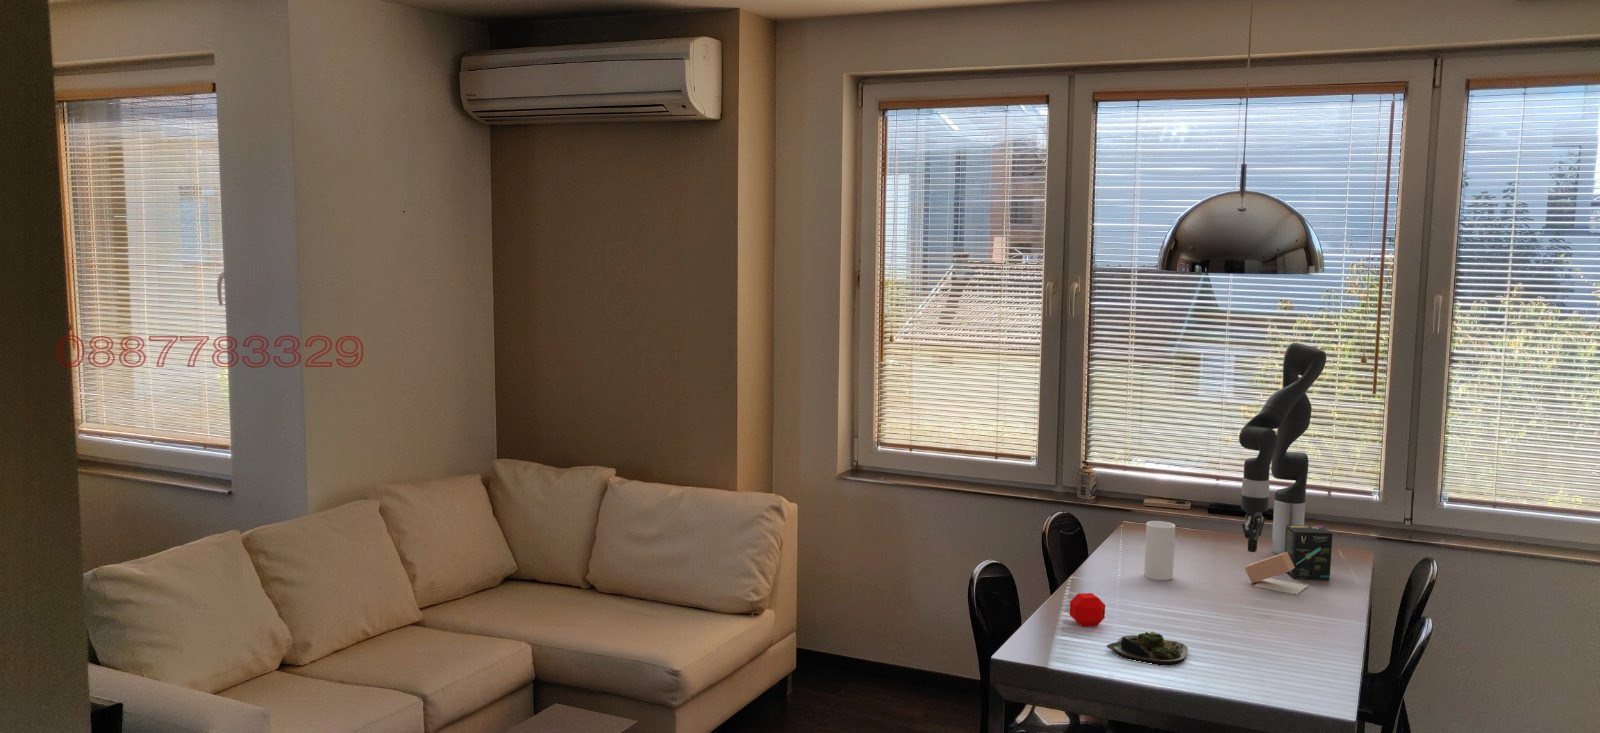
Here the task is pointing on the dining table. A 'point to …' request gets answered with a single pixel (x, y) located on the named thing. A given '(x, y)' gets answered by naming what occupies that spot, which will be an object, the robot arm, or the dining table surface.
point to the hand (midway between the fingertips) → (1252, 551)
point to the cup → (1159, 550)
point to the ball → (1087, 609)
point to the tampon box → (1309, 551)
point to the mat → (1281, 586)
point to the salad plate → (1150, 649)
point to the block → (1269, 567)
